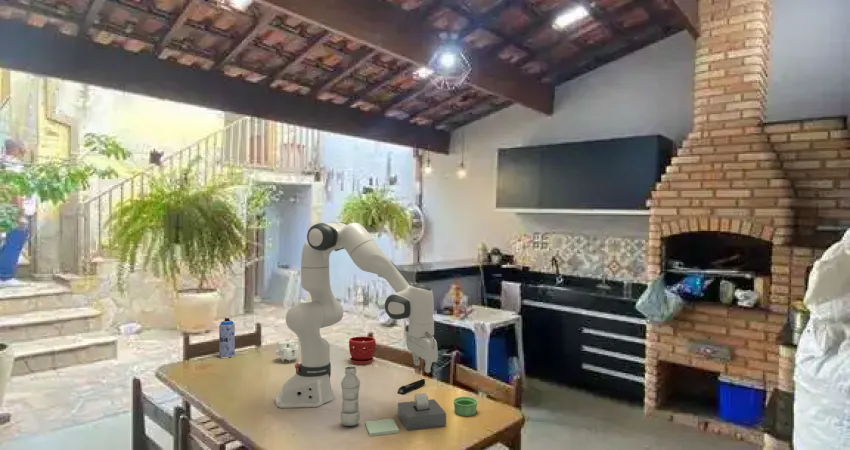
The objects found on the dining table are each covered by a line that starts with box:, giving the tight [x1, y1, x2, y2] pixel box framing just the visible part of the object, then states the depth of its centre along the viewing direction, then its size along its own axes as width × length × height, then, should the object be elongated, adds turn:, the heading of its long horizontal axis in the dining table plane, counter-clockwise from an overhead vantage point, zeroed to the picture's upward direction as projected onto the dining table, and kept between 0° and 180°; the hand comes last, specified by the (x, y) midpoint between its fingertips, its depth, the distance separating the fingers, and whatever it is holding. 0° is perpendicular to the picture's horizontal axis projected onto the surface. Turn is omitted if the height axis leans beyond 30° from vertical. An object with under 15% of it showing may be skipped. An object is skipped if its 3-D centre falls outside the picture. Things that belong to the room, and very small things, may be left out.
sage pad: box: [364, 417, 400, 437], centre depth 173 cm, size 10×10×1 cm
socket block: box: [397, 398, 447, 432], centre depth 180 cm, size 14×14×4 cm
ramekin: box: [453, 396, 479, 417], centre depth 188 cm, size 9×9×4 cm
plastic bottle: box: [340, 366, 361, 427], centre depth 176 cm, size 6×7×20 cm
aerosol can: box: [218, 317, 236, 358], centre depth 261 cm, size 8×8×20 cm
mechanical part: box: [275, 336, 300, 363], centre depth 253 cm, size 11×12×12 cm
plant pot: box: [348, 335, 377, 366], centre depth 251 cm, size 13×13×12 cm
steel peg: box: [414, 392, 429, 411], centre depth 180 cm, size 4×4×9 cm
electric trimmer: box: [396, 378, 426, 396], centre depth 213 cm, size 4×16×3 cm, turn 140°
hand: (422, 368), depth 180 cm, fingers open, 8 cm apart
